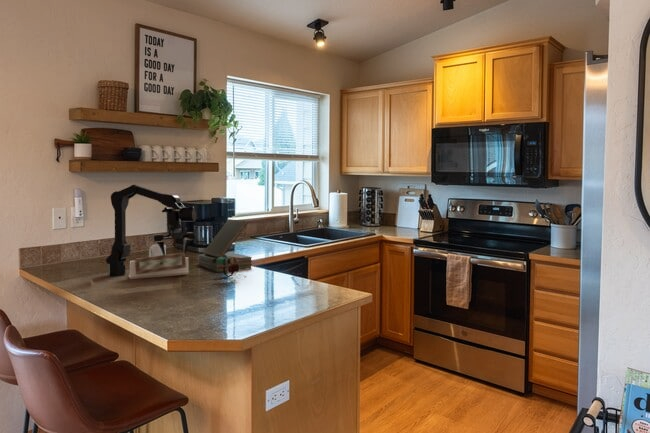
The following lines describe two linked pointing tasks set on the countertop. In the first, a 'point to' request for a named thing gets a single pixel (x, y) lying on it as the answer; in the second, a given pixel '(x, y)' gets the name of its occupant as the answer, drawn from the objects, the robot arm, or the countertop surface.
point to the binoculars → (226, 261)
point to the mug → (156, 250)
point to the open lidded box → (225, 247)
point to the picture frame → (160, 263)
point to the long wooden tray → (158, 274)
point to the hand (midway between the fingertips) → (174, 255)
